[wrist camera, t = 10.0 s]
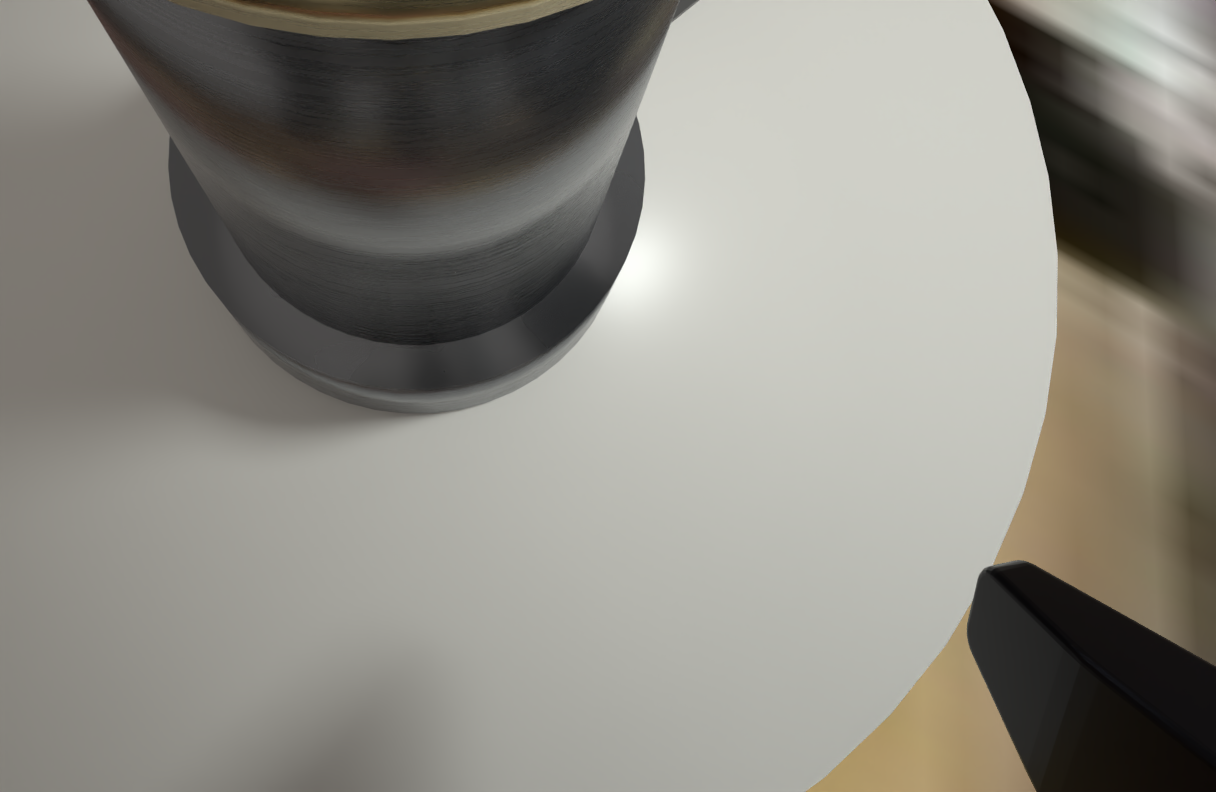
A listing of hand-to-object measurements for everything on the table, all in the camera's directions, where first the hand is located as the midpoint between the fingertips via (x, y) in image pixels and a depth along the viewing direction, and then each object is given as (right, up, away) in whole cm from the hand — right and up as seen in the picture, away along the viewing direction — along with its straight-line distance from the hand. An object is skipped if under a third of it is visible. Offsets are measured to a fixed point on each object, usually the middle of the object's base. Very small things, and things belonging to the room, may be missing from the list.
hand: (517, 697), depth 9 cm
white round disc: (-2, +6, +9) cm, 10 cm away
